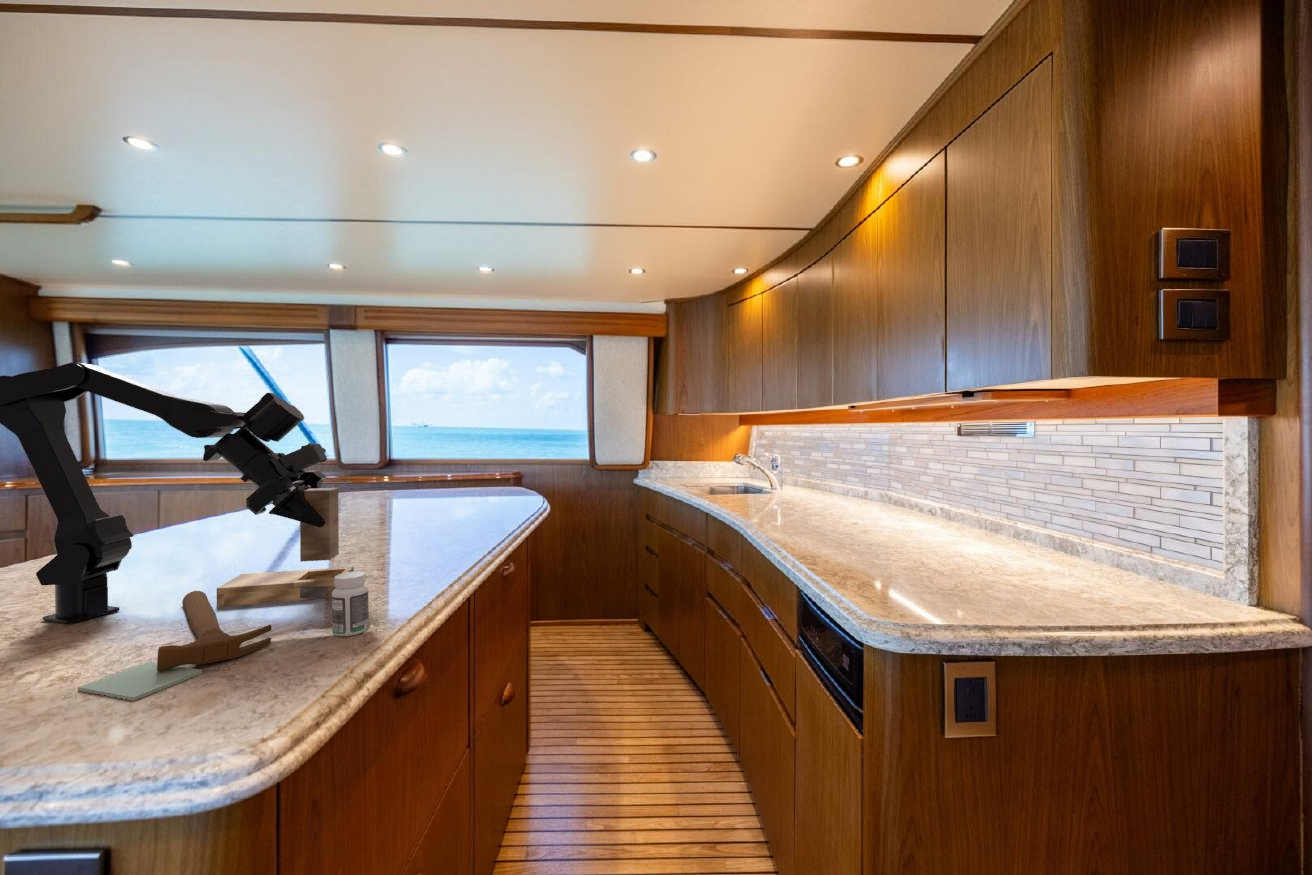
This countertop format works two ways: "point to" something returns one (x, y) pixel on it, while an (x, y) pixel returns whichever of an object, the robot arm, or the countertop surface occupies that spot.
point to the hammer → (207, 638)
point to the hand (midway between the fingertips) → (328, 523)
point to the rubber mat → (139, 681)
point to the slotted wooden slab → (279, 586)
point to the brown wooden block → (321, 539)
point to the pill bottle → (350, 604)
